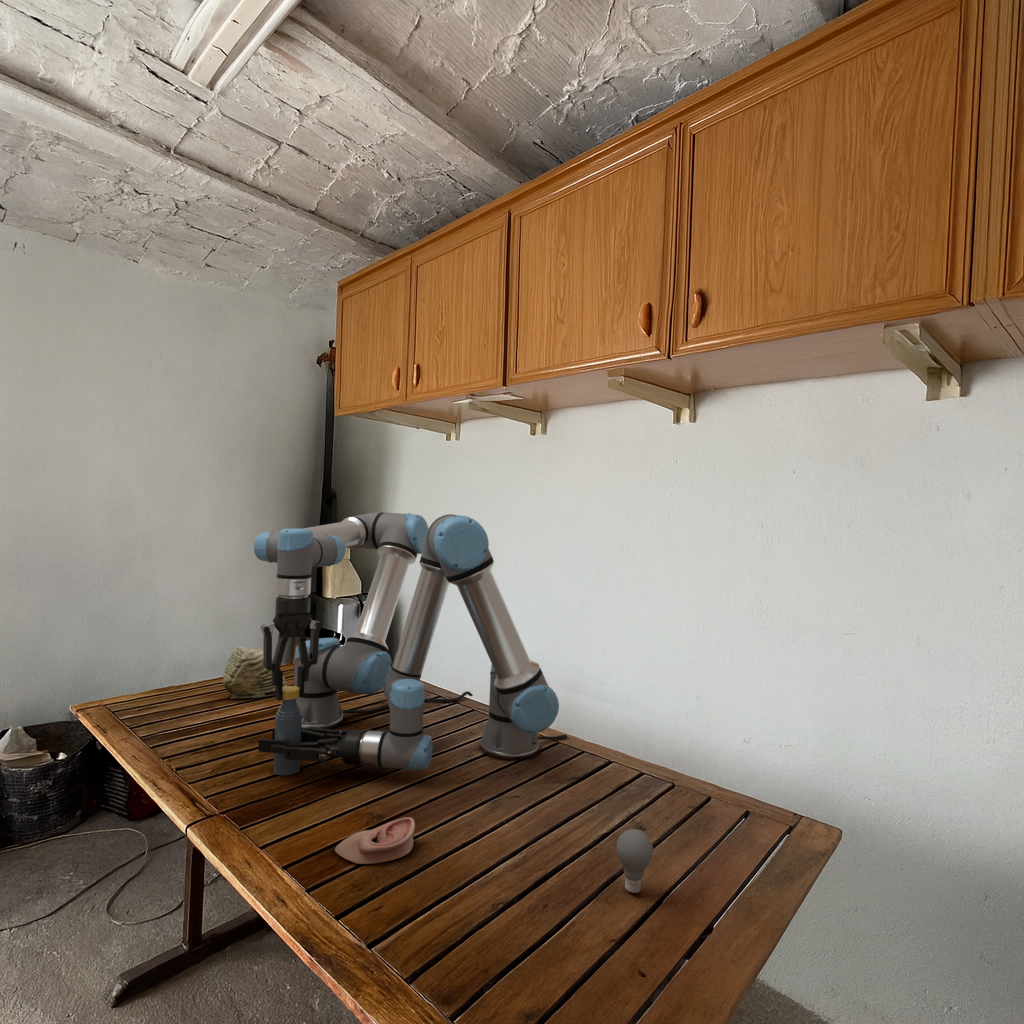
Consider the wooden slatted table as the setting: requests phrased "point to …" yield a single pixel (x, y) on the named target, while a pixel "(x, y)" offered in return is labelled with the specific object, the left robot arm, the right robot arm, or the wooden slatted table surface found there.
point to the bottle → (287, 735)
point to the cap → (290, 692)
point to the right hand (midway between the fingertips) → (266, 739)
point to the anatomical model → (379, 843)
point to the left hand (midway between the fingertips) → (289, 696)
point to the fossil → (248, 674)
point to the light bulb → (634, 857)
